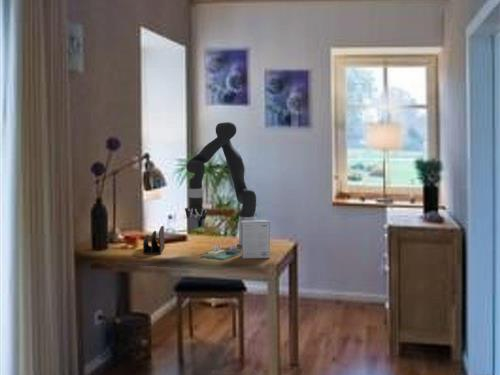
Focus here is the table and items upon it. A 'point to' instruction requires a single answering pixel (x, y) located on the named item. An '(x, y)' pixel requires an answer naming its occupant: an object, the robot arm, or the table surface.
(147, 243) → the letter holder
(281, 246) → the table surface
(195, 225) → the plug housing
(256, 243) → the hard drive box
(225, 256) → the pcb board
